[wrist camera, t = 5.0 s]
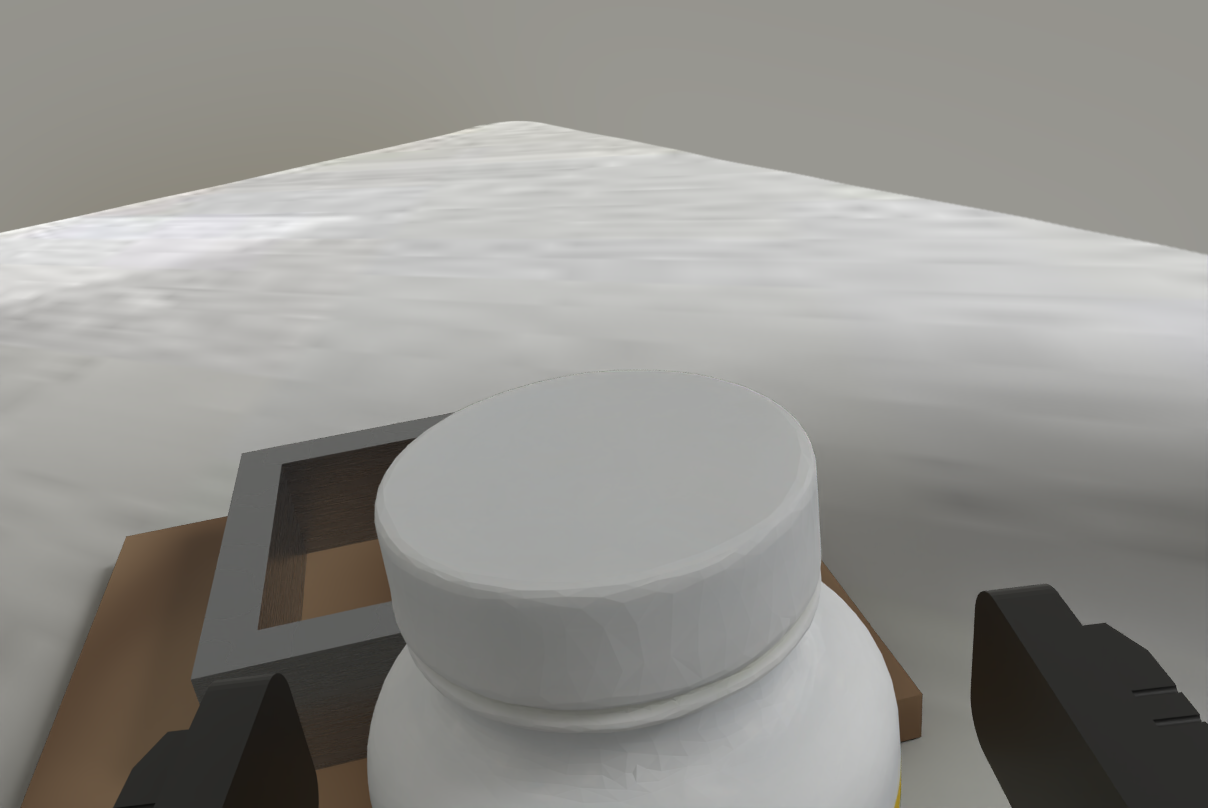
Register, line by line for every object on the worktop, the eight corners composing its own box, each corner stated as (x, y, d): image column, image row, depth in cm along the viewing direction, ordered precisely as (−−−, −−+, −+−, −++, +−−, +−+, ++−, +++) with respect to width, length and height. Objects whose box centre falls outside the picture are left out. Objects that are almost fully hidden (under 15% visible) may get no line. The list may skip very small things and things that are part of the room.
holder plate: (716, 448, 30) (714, 418, 29) (920, 736, 19) (922, 694, 18) (137, 568, 27) (126, 536, 27) (-6, 975, 16) (-29, 932, 16)
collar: (598, 473, 27) (587, 386, 26) (692, 679, 19) (682, 569, 18) (268, 541, 26) (242, 453, 25) (230, 790, 18) (190, 679, 17)
